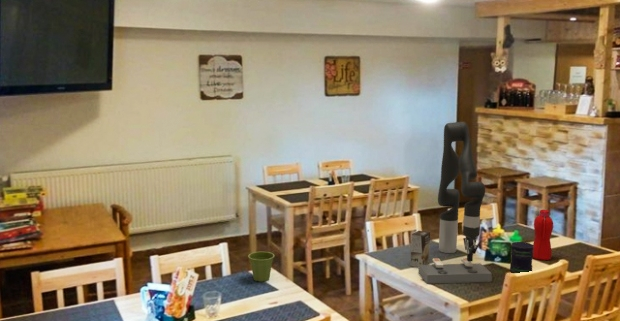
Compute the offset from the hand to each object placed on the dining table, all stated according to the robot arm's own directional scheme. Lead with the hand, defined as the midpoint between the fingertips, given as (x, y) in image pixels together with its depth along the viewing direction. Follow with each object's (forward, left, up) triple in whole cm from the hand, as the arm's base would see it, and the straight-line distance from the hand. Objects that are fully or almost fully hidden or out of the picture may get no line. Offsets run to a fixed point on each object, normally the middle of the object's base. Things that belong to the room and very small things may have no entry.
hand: (469, 260), depth 281 cm
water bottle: (-24, +47, -8) cm, 53 cm away
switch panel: (0, -7, -8) cm, 10 cm away
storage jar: (0, +25, -8) cm, 26 cm away
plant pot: (-4, -96, -8) cm, 96 cm away
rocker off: (-3, -14, -2) cm, 15 cm away
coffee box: (-19, -18, -8) cm, 27 cm away
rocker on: (-3, 0, -2) cm, 3 cm away
